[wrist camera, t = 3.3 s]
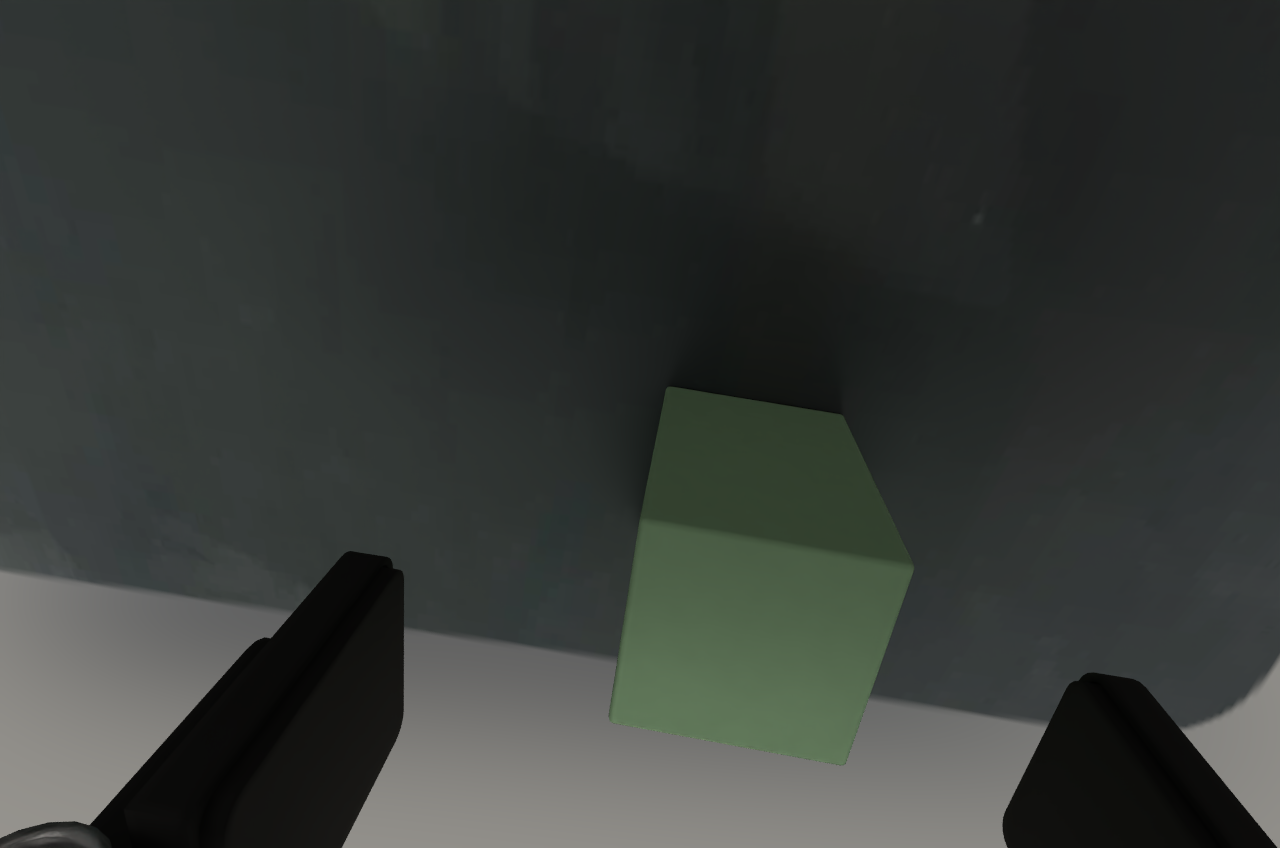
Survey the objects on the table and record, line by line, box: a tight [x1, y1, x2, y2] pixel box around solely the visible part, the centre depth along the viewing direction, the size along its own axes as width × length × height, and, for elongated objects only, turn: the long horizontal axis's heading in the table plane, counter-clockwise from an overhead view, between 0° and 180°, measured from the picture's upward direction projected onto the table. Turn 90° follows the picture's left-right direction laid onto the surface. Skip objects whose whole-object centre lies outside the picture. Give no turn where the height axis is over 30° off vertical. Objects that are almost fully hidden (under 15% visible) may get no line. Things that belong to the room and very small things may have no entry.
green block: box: [609, 387, 914, 765], centre depth 13 cm, size 4×4×6 cm
